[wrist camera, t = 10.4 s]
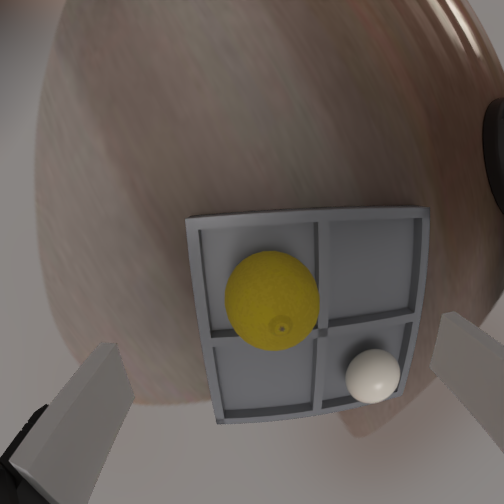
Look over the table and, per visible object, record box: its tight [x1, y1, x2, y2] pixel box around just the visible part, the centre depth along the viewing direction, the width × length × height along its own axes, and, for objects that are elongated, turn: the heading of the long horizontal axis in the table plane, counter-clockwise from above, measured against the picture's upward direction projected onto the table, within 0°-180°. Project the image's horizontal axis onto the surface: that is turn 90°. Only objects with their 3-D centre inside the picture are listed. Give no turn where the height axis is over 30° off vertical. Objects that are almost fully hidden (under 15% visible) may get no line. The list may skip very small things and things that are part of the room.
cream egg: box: [345, 349, 400, 404], centre depth 20 cm, size 5×5×5 cm
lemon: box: [225, 251, 320, 351], centre depth 17 cm, size 6×6×8 cm
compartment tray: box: [185, 206, 430, 424], centre depth 21 cm, size 18×18×2 cm
